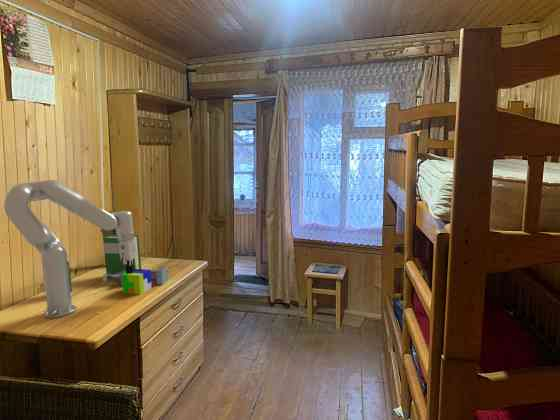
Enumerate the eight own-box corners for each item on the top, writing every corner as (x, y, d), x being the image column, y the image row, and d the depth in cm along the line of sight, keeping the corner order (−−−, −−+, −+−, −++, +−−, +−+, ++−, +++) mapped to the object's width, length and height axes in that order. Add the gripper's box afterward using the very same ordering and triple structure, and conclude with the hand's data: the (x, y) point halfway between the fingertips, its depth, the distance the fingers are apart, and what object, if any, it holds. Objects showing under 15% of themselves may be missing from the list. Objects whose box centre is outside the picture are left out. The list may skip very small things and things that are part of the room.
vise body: (162, 284, 207) (161, 270, 206) (106, 286, 207) (105, 272, 205) (168, 278, 219) (167, 264, 218) (115, 280, 218) (114, 266, 217)
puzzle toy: (151, 288, 203) (150, 269, 202) (140, 294, 194) (138, 275, 192) (135, 286, 206) (133, 268, 204) (123, 293, 196) (121, 274, 195)
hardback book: (141, 274, 227) (138, 235, 223) (136, 278, 219) (132, 237, 216) (113, 274, 228) (110, 235, 225) (106, 278, 221) (103, 238, 218)
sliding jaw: (125, 285, 207) (124, 271, 206) (102, 286, 206) (101, 272, 205) (131, 280, 216) (130, 266, 215) (109, 281, 215) (108, 267, 214)
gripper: (128, 239, 178) (132, 277, 181) (138, 233, 193) (142, 268, 195) (111, 240, 178) (116, 278, 180) (123, 233, 192) (127, 269, 195)
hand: (129, 273), depth 188 cm, fingers closed
